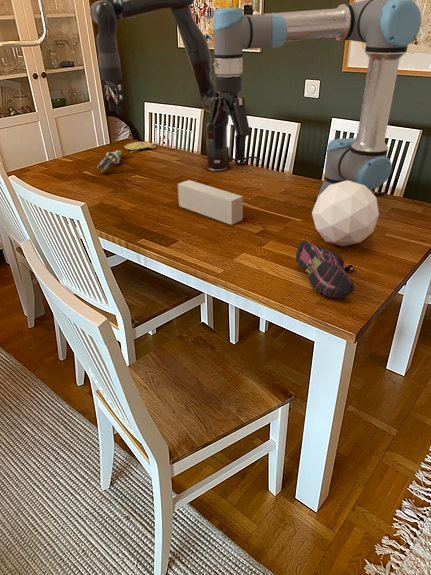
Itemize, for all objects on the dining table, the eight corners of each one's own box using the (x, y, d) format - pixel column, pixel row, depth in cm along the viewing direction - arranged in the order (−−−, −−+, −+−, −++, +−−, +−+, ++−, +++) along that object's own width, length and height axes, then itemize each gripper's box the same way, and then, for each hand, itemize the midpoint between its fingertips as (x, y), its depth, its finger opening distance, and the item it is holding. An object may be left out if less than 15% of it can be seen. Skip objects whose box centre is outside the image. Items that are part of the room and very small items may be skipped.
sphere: (321, 259, 144) (291, 205, 142) (371, 228, 146) (342, 175, 144) (347, 258, 125) (313, 196, 123) (404, 222, 128) (371, 161, 125)
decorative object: (138, 138, 251) (166, 140, 241) (139, 142, 252) (166, 144, 242) (113, 146, 236) (141, 149, 226) (113, 151, 237) (142, 154, 228)
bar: (179, 206, 169) (177, 183, 164) (190, 201, 172) (188, 179, 168) (231, 225, 153) (231, 201, 148) (242, 219, 156) (242, 196, 152)
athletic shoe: (341, 287, 106) (380, 279, 110) (299, 225, 117) (336, 220, 122) (323, 315, 114) (360, 306, 119) (286, 254, 126) (321, 249, 130)
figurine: (101, 154, 197) (119, 141, 223) (91, 167, 200) (110, 152, 227) (114, 165, 199) (130, 151, 225) (103, 178, 203) (121, 162, 229)
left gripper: (127, 66, 158) (132, 114, 167) (112, 63, 169) (119, 108, 177) (107, 68, 155) (114, 116, 164) (93, 64, 165) (101, 110, 174)
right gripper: (196, 71, 127) (199, 146, 139) (238, 81, 108) (238, 167, 120) (220, 69, 130) (221, 142, 142) (264, 79, 111) (261, 163, 123)
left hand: (116, 112), depth 171 cm, fingers open, 8 cm apart
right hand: (228, 154), depth 131 cm, fingers open, 13 cm apart
